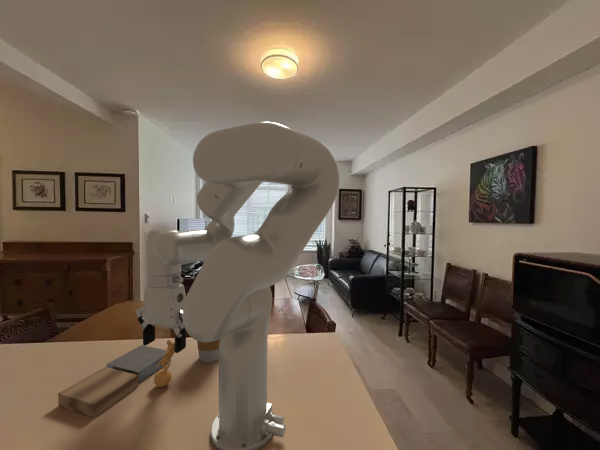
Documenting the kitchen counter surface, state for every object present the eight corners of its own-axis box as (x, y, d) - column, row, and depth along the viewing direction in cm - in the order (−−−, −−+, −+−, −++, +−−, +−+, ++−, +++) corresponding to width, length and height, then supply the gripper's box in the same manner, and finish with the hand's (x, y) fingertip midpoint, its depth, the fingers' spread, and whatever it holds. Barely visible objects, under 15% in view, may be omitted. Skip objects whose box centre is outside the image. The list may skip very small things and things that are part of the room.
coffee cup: (219, 365, 80) (219, 313, 79) (190, 364, 80) (189, 313, 79) (227, 350, 88) (227, 303, 87) (201, 350, 89) (201, 303, 88)
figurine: (165, 375, 75) (164, 331, 74) (186, 377, 74) (186, 333, 74) (144, 395, 67) (143, 346, 66) (168, 398, 66) (167, 348, 65)
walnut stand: (138, 386, 70) (138, 375, 70) (94, 417, 60) (93, 404, 60) (105, 378, 74) (105, 366, 73) (58, 406, 63) (58, 393, 63)
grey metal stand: (170, 361, 82) (170, 351, 82) (138, 383, 72) (138, 372, 71) (141, 354, 85) (141, 345, 85) (106, 375, 75) (106, 364, 75)
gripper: (203, 279, 70) (203, 346, 71) (149, 272, 75) (149, 334, 77) (182, 288, 63) (182, 361, 64) (123, 279, 68) (124, 347, 69)
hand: (164, 346), depth 70 cm, fingers open, 9 cm apart
